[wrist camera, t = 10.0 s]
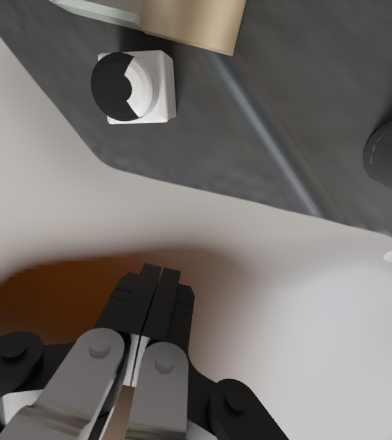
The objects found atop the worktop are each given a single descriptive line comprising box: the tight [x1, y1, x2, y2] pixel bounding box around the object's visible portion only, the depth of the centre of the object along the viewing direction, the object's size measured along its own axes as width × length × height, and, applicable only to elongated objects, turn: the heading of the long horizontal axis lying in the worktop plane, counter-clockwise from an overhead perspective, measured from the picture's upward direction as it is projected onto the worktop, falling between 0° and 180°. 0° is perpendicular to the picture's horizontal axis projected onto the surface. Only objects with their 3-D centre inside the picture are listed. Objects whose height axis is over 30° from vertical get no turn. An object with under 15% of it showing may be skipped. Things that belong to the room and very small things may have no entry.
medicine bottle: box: [91, 50, 176, 124], centre depth 32 cm, size 7×7×12 cm
